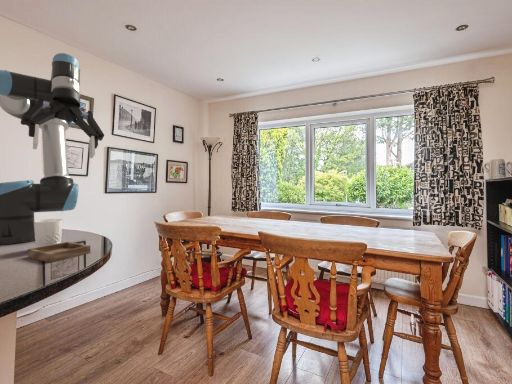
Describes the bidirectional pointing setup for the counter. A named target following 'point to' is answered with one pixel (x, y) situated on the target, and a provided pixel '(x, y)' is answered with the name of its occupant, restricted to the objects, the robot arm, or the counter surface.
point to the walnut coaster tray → (58, 251)
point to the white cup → (47, 232)
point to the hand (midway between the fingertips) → (65, 151)
